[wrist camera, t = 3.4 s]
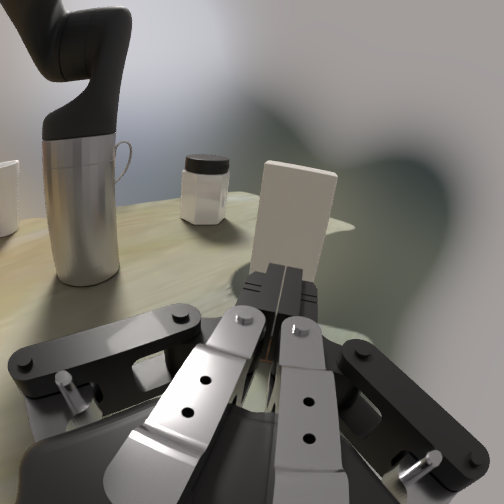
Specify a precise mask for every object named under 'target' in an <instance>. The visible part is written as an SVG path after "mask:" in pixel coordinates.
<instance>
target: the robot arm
mask: <svg viewBox="0 0 504 504" xmlns="http://www.w3.org/2000/svg"><path fill="white" fill-rule="evenodd" d="M0 3H1V4H2V6H3V8H4V9H5V11H6V13H7V15H8V16H9V18H10V19H11V21H12V22H13V24H14V26H15V27H16V29H17V31H18V33H19V35H20V37H21V38H22V41H23V43H24V44H25V46H26V48H27V50H28V52H29V54H30V56H31V58H32V60H33V62H34V63H35V65H36V67H37V68H38V70H39V71H40V73H41V74H42V75H43V76H44V77H45V78H46V79H47V80H49V81H51V82H68V81H76V80H85V79H90V82H89V84H88V86H87V88H86V89H85V90H84V91H83V92H82V93H81V94H80V95H79V96H78V97H76V98H75V99H74V100H73V101H71V102H69V103H68V104H66V105H64V106H63V107H61V108H59V109H57V110H55V111H53V112H52V113H50V114H48V115H47V116H46V117H45V119H44V122H43V128H42V129H43V130H42V132H43V133H42V139H43V141H42V162H43V182H44V195H45V204H46V214H47V222H48V229H49V235H50V241H51V248H52V253H53V258H54V263H55V268H56V272H57V276H58V278H59V279H60V281H62V282H63V283H65V284H68V285H72V286H89V285H94V284H98V283H100V282H103V281H105V280H107V279H109V278H110V277H112V276H113V275H114V274H115V273H116V272H117V271H118V269H119V264H120V263H119V253H118V241H117V226H116V207H115V138H116V133H115V132H116V123H117V111H118V102H119V93H120V86H121V80H122V74H123V69H124V65H125V60H126V55H127V51H128V47H129V42H130V37H131V30H132V17H131V13H130V11H129V10H128V9H127V8H126V7H123V6H110V7H100V8H93V9H86V10H80V11H75V12H69V11H67V10H66V9H65V8H64V7H63V4H62V1H61V0H0ZM284 270H285V266H284V265H279V264H274V263H269V265H268V268H267V271H266V273H262V272H257V271H255V272H253V273H252V274H250V275H249V276H248V277H247V280H246V282H245V284H244V287H243V289H242V291H241V293H240V296H239V298H238V300H237V302H236V305H235V306H234V307H231V308H229V309H228V310H227V311H226V312H225V314H224V316H223V317H218V318H201V313H200V311H199V310H198V309H197V308H195V307H194V306H191V305H188V304H182V303H178V304H172V305H169V306H165V307H162V308H159V309H156V310H152V311H149V312H146V313H143V314H139V315H136V316H133V317H129V318H126V319H123V320H119V321H116V322H113V323H109V324H106V325H103V326H99V327H96V328H92V329H89V330H85V331H82V332H78V333H75V334H71V335H68V336H64V337H60V338H57V339H53V340H50V341H46V342H42V343H39V344H35V345H31V346H27V347H24V348H21V349H19V350H17V351H16V352H14V353H13V354H12V356H11V357H10V359H9V361H8V371H9V373H10V375H11V377H12V378H13V380H14V381H15V383H16V385H17V386H18V388H19V391H20V392H21V394H22V395H23V397H24V399H25V404H26V409H27V413H28V418H29V422H30V426H31V430H32V434H33V438H34V442H35V443H34V444H33V445H32V446H31V447H29V449H28V450H27V451H26V452H25V454H24V455H23V457H22V460H21V462H20V467H19V485H18V493H17V499H16V503H15V504H449V502H450V501H451V500H452V499H453V497H454V496H455V495H456V494H457V493H458V492H460V491H461V490H463V489H465V488H466V487H468V486H469V485H471V484H472V483H474V482H475V481H476V480H478V479H480V478H481V477H482V476H484V475H485V473H486V472H487V470H488V468H489V464H490V458H489V454H488V452H487V450H486V448H485V447H484V446H483V445H482V444H481V443H480V442H479V441H478V440H477V439H476V438H474V437H473V436H472V435H471V434H470V433H469V432H468V431H467V430H466V429H465V428H464V427H463V426H462V425H460V424H459V423H458V422H457V421H456V420H455V419H454V418H453V417H452V416H451V415H450V414H449V413H447V411H445V410H444V409H443V408H442V407H441V406H440V405H439V404H438V403H437V402H436V401H434V400H433V399H432V398H431V397H430V396H429V395H428V394H427V393H426V392H424V391H423V390H422V389H421V388H420V387H419V386H418V385H417V384H416V383H415V382H414V381H413V380H411V379H410V378H409V377H408V376H407V375H406V374H405V373H404V372H403V371H401V370H400V369H399V368H398V367H397V366H396V365H395V364H394V363H393V362H392V361H390V360H389V359H388V358H387V357H386V356H385V355H384V354H383V353H382V352H380V351H379V350H378V349H377V348H376V347H375V346H374V345H372V344H371V343H369V342H367V341H364V340H360V339H351V340H348V341H346V342H345V343H344V344H343V346H341V345H339V344H336V343H334V342H332V341H330V340H328V339H326V338H325V337H324V336H323V335H322V332H321V328H320V326H319V325H318V324H317V288H316V287H315V285H314V284H313V282H309V281H304V280H302V275H303V269H300V268H294V267H289V266H287V268H286V273H285V278H284V283H283V287H282V292H281V297H280V302H279V307H278V312H277V316H276V321H275V326H274V331H273V335H272V340H271V344H270V349H269V354H268V358H267V360H269V361H272V365H271V370H270V373H269V377H268V386H267V395H266V404H265V412H259V413H256V412H250V411H248V410H246V409H243V408H242V406H243V403H244V401H245V398H246V396H247V393H248V391H249V388H250V385H251V383H252V380H253V378H254V375H255V370H256V369H257V367H258V365H259V361H260V359H263V360H265V359H266V355H267V350H268V346H269V341H270V337H271V332H272V328H273V323H274V319H275V314H276V309H277V305H278V300H279V295H280V290H281V285H282V280H283V275H284ZM162 350H164V354H161V355H159V356H156V357H153V358H151V359H148V360H145V361H142V362H139V363H137V364H134V362H135V361H136V360H138V359H140V358H143V357H145V356H148V355H151V354H154V353H156V352H159V351H162ZM133 364H134V365H133ZM361 392H362V393H363V394H364V395H365V396H366V397H367V398H368V399H369V400H370V401H371V402H372V403H373V404H374V405H375V406H376V407H377V408H378V409H379V411H380V412H381V415H382V417H381V416H380V415H379V414H378V413H377V412H376V411H375V410H374V409H373V408H372V407H371V406H370V405H369V404H368V403H367V402H366V401H365V400H364V399H363V398H362V397H361V396H360V394H361ZM161 394H163V396H162V397H160V398H155V399H152V400H149V399H151V398H154V397H156V396H159V395H161ZM146 400H148V401H146ZM144 401H146V402H144ZM141 402H143V403H141ZM139 403H141V404H139ZM136 404H139V405H136ZM133 405H136V406H134V407H132V408H129V409H127V410H124V411H122V412H119V413H117V414H114V415H112V416H109V417H107V418H104V419H102V417H103V416H106V415H108V414H111V413H114V412H117V411H120V410H123V409H125V408H128V407H131V406H133ZM339 430H340V431H341V432H342V433H343V434H344V436H345V437H346V438H347V439H348V440H349V441H350V443H351V444H352V445H353V446H354V447H355V448H356V449H357V450H358V452H359V453H360V454H361V455H362V456H363V457H364V458H365V459H366V461H367V462H368V463H369V464H370V465H371V466H372V467H373V468H374V469H375V470H376V472H377V473H378V474H379V475H380V476H381V477H382V480H380V479H379V478H378V477H377V476H376V475H375V473H374V472H373V471H372V470H371V469H370V467H369V466H368V465H367V464H366V462H365V461H364V460H363V459H362V458H361V456H360V455H359V454H358V453H357V451H356V450H355V449H354V448H353V447H352V445H351V444H350V443H349V442H348V441H347V440H346V439H344V438H343V437H342V436H340V431H339Z"/></svg>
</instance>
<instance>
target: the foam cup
mask: <svg viewBox="0 0 504 504" xmlns="http://www.w3.org/2000/svg"><path fill="white" fill-rule="evenodd" d="M18 176H19V161H18V160H14V161H7V162H2V163H0V237H3V236H7V235H10V234H12V233H14V232H15V231H17V230H18V229H19V217H18Z"/></svg>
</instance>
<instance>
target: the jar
mask: <svg viewBox="0 0 504 504" xmlns="http://www.w3.org/2000/svg"><path fill="white" fill-rule="evenodd" d="M228 169H229V159H228V158H226V157H222V156H216V155H204V154H199V155H198V154H197V155H196V154H195V155H188V156H186V161H185V170H183V171H182V186H181V206H180V218H182V219H184V220H186V221H188V222H190V223H192V224H193V225H218V224H219V223H220V222H221V221H222V220H223V219H224V218H225V213H226V203H227V193H228V182H229V174H230V172H228Z"/></svg>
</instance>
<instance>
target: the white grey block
mask: <svg viewBox="0 0 504 504" xmlns="http://www.w3.org/2000/svg"><path fill="white" fill-rule="evenodd" d="M337 179H338V176H337V175H336V173H333V172H329V171H324V170H320V169H314V168H309V167H304V166H299V165H293V164H288V163H282V162H276V161H270V160H269V161H267V162H266V163H265V165H264V172H263V179H262V186H261V193H260V200H259V208H258V215H257V222H256V229H255V236H254V243H253V251H252V258H251V265H250V273H249V275H250V274H252V273H253V272H255V271H257V272H262V273H266V271H267V268H268V265H269V263H274V264H279V265H284V266H285V270H284V275H283V280H282V285H281V290H280V295H279V300H278V305H277V309H276V314H275V319H274V323H273V328H272V332H271V336H272V335H273V331H274V326H275V321H276V316H277V312H278V307H279V302H280V297H281V292H282V287H283V283H284V278H285V273H286V268H287V266H289V267H294V268H300V269H303V275H302V280H304V281H309V282H313V281H314V278H315V274H316V270H317V266H318V262H319V258H320V254H321V250H322V246H323V242H324V237H325V234H326V230H327V225H328V221H329V217H330V212H331V207H332V203H333V198H334V193H335V189H336V184H337Z"/></svg>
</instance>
